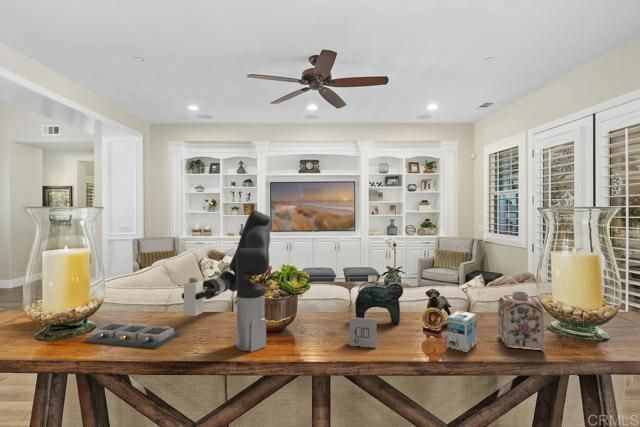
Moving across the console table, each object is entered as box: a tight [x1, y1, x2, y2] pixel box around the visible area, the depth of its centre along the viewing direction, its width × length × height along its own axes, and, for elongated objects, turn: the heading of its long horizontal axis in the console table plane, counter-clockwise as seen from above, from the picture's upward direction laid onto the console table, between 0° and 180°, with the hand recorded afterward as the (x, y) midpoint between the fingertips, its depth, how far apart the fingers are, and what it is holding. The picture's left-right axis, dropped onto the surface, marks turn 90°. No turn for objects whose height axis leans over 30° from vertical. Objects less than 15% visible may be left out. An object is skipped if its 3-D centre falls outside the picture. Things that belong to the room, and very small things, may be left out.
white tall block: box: [183, 277, 204, 317], centre depth 133 cm, size 5×5×14 cm
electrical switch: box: [348, 317, 378, 349], centre depth 120 cm, size 9×5×9 cm, turn 78°
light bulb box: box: [446, 310, 478, 351], centre depth 119 cm, size 11×7×11 cm, turn 139°
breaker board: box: [85, 321, 180, 350], centre depth 124 cm, size 27×13×4 cm, turn 78°
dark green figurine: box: [354, 273, 404, 324], centre depth 145 cm, size 20×6×20 cm, turn 82°
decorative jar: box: [497, 290, 545, 350], centre depth 121 cm, size 12×12×18 cm
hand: (189, 296), depth 131 cm, fingers closed on white tall block, 5 cm apart
